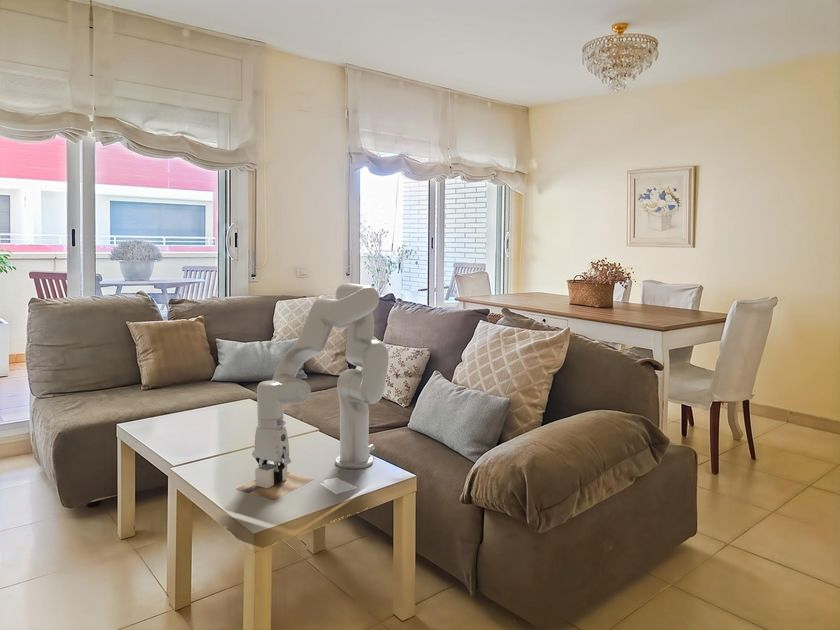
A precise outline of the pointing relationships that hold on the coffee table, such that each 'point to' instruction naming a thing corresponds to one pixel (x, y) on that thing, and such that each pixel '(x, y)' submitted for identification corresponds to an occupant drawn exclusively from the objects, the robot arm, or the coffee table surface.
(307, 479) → the subfloor board
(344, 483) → the hard drive
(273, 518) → the coffee table surface
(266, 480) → the stud finder
